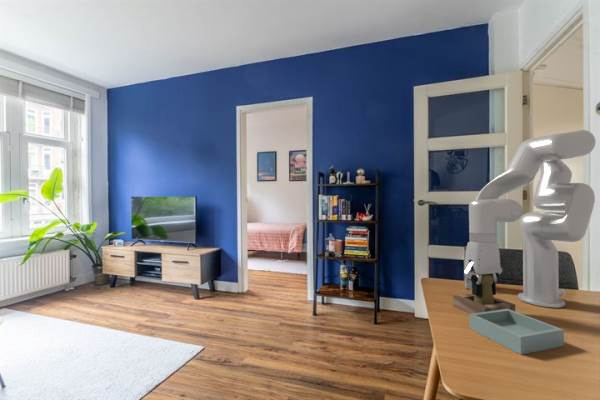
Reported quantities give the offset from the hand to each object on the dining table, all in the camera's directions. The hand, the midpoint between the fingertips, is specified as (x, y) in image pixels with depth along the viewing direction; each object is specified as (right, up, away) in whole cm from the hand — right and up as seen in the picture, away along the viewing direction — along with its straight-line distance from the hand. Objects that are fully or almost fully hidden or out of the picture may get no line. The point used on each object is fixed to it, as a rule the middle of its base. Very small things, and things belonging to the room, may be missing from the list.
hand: (483, 294), depth 92 cm
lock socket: (0, -5, 0) cm, 5 cm away
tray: (-4, -5, -18) cm, 19 cm away
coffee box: (+12, -6, +25) cm, 29 cm away
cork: (0, -5, 0) cm, 5 cm away
